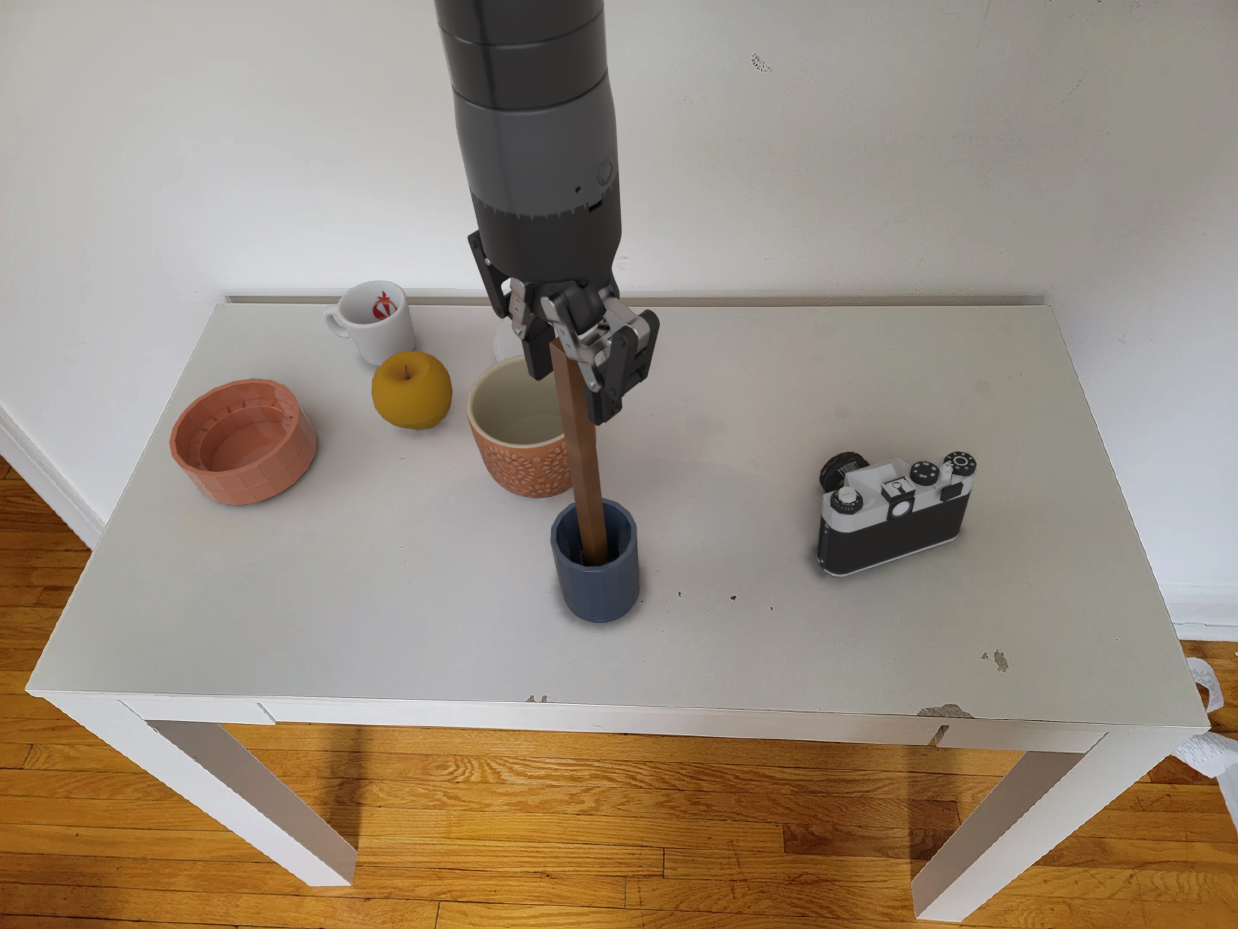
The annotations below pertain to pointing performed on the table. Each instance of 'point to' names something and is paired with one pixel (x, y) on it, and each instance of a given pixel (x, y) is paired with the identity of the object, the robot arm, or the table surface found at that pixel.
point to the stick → (581, 456)
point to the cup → (374, 320)
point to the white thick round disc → (511, 345)
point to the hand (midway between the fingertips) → (574, 393)
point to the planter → (520, 429)
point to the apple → (412, 390)
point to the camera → (889, 508)
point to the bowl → (244, 441)
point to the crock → (597, 587)
